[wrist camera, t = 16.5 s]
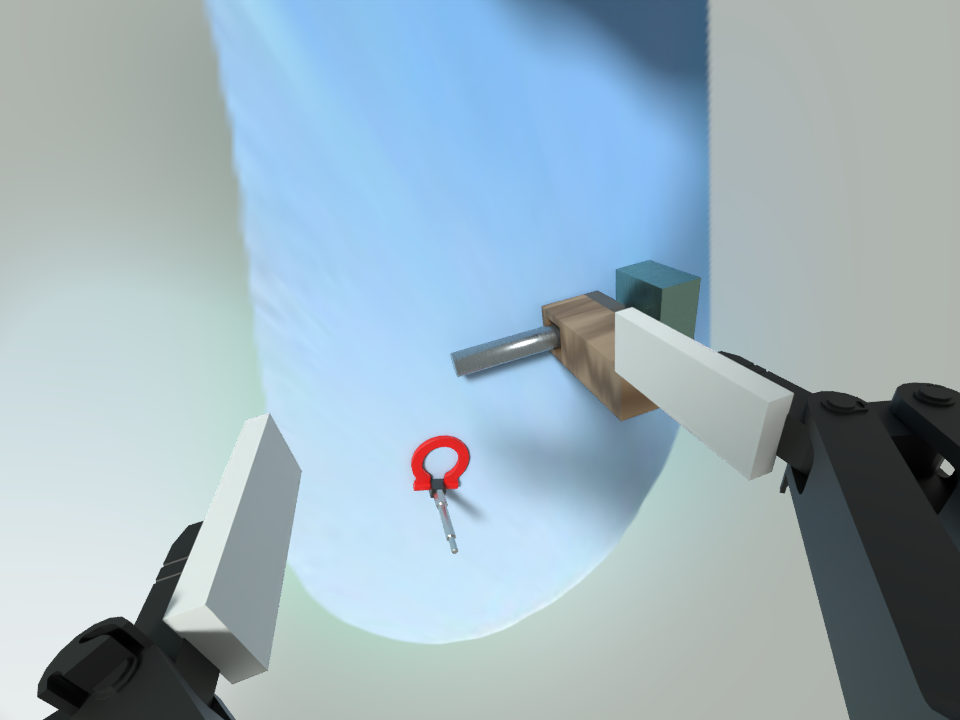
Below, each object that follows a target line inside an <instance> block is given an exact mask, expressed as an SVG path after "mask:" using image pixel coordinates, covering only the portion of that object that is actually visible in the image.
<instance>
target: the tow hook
mask: <svg viewBox="0 0 960 720" xmlns="http://www.w3.org/2000/svg"><path fill="white" fill-rule="evenodd" d="M439 447H450V448H452V449H454V450H455V451H456V452H457V453H458V461H457V463H456V465H455V466H454V468H453V469H451V470H450V471H449V472H447V473H446V474H445V476H444V480H443V479H431V477H430V474H429V473H427V472H426V471H425V470H424V469H423V467H422V463H423V460H424V457H425V456H426V455H427V454H428V453H429V452H430V451H432V450H433V449H435V448H439ZM468 461H469V454H468V450H467V448H466V446H465V444H464V443H463V442H462V441H461V440H459V439H457V438H455V437H452V436H437V437H433V438H431V439H429V440H427V441H425V442H424V443H422V444H421V445H420V446H419V447H418V448H417V449H416V451H415V452H414V454H413V457H412V461H411V467H412V471H413V474H414V476H415V477H416V481H414V484H413V488H414V491H420V490H429V493H430V497H431V498H434V500H435V503H436V507H437V509H438V510H439V513H440V516H441V520H442V524H443V528H444V531H445V535H446V539H447V541H449V543H450V547H451V551H452V553H453V554H456V553H457V552H458V549H457V545H456V542H455V538H456V536H455V533H454V529H453V526H452V523H451V519H450V516H449V512H448V509H447V506H448V504H447V501H446V498H445V493H446V489H457V488H458V477H459V476H460V475H461V474H462V473H463V472H464V471H465V469H466V467H467V465H468Z"/></svg>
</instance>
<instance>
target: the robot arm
mask: <svg viewBox="0 0 960 720" xmlns="http://www.w3.org/2000/svg"><path fill="white" fill-rule="evenodd" d="M615 372H617V373H618V374H619V375H620V376H621V377H623V378H624V379H625V380H626V381H628V382H629V383H630V384H631V385H633V386H634V387H635V388H636V389H637V390H639V391H640V392H641V393H642V394H644V395H645V396H646V397H647V398H649V399H650V400H651V401H652V402H653V403H655V404H656V405H657V406H658V407H660V408H661V409H662V410H663V411H664V412H666V413H667V414H668V415H669V416H671V417H672V418H673V419H674V420H676V421H677V422H678V423H679V424H680V425H682V426H683V427H684V428H685V429H687V430H688V431H689V432H690V433H692V434H693V435H694V436H695V437H697V438H698V439H699V440H700V441H701V442H703V443H704V444H705V445H706V446H708V447H709V448H710V449H711V450H712V451H714V452H715V453H716V454H717V455H719V456H720V457H721V458H722V459H724V460H725V461H726V462H727V463H728V464H730V465H731V466H732V467H733V468H735V469H736V470H737V471H738V472H740V473H741V474H742V475H743V476H744V477H746V478H747V479H748V480H752V479H755V478H757V477H760V476H762V475H765V474H767V473H770V472H772V469H773V466H774V462H775V459H776V455H777V456H778V457H780V458H781V459H783V460H784V461H785V462H787V467H786V470H785V473H784V476H783V480H782V483H781V486H780V493H785V491H786V487H787V486H789V488H790V492H791V496H792V500H793V504H794V507H795V511H796V515H797V519H798V523H799V527H800V530H801V534H802V538H803V541H804V546H805V550H806V554H807V557H808V561H809V565H810V569H811V572H812V577H813V580H814V584H815V588H816V591H817V596H818V600H819V603H820V607H821V611H822V615H823V619H824V622H825V626H826V630H827V634H828V638H829V642H830V646H831V649H832V653H833V657H834V661H835V664H836V669H837V672H838V676H839V680H840V684H841V688H842V691H843V695H844V699H845V703H846V707H847V711H848V714H849V718H850V720H960V393H959V392H957V391H955V390H952V389H949V388H946V387H944V386H940V385H936V384H935V385H934V384H930V383H907V384H902V385H901V386H899V387H897V389H896V391H895V394H894V396H893V398H892V400H891V401H880V402H869V403H868V402H865V401H863V400H862V399H860V398H858V397H855V396H852V395H849V394H846V393H840V392H834V391H821V392H817V393H811V392H809V391H807V390H805V389H803V388H801V387H799V386H797V385H795V384H793V383H791V382H789V381H787V380H785V379H783V378H781V377H779V376H777V375H775V374H773V373H772V372H770V371H768V372H767V371H766V369H764V368H762V367H760V366H758V365H754V364H753V363H752V362H750V361H748V360H746V359H744V358H742V357H740V356H737V355H734V354H730V353H726V352H722V351H720V352H716V351H714V350H712V349H710V348H708V347H706V346H704V345H702V344H701V343H699V342H697V341H695V340H693V339H691V338H689V337H687V336H686V335H684V334H682V333H680V332H678V331H676V330H674V329H672V328H670V327H669V326H667V325H665V324H663V323H661V322H659V321H657V320H655V319H654V318H652V317H650V316H648V315H646V314H644V313H642V312H640V311H639V310H637V309H635V308H633V307H631V308H628V309H624V310H621V311H618V312H615ZM944 459H946V460H947V461H948V462H949V463H950V464H951V465H952V466H953V467H954V469H955V471H954V472H953V474H952V475H951V476H949V475H948V474H946V473H945V472H944V471H943V470H942V469H941V468H940V466H941V464H942V462H943V461H944ZM301 472H302V471H301V469H300V467H299V465H298V463H297V462H296V460H295V458H294V456H293V454H292V453H291V451H290V449H289V447H288V445H287V443H286V442H285V440H284V438H283V436H282V434H281V433H280V431H279V429H278V427H277V425H276V424H275V422H274V420H273V418H272V416H271V415H270V413H268V414H264V415H261V416H257V417H254V418H251V419H247V420H246V421H245V423H244V426H243V428H242V431H241V433H240V435H239V438H238V440H237V443H236V445H235V447H234V450H233V452H232V455H231V457H230V459H229V462H228V464H227V466H226V469H225V471H224V474H223V476H222V478H221V481H220V483H219V486H218V488H217V491H216V493H215V495H214V498H213V500H212V502H211V505H210V507H209V510H208V512H207V514H206V517H205V519H204V521H202V522H198V523H196V524H192V525H189V526H188V527H187V528H186V529H185V531H183V533H182V534H181V535H180V536H179V537H178V539H177V540H176V541H175V542H174V543H173V545H172V546H171V549H170V551H169V553H168V555H167V557H166V559H165V561H164V563H163V565H164V567H162V568H161V570H160V572H159V574H158V576H157V578H156V583H155V584H153V587H152V589H151V591H150V593H149V595H148V597H147V599H146V602H145V603H144V606H143V608H142V610H141V612H140V614H139V616H138V618H137V621H136V622H135V625H133V624H132V623H131V622H130V621H128V620H127V619H125V618H123V617H114V618H108V619H106V620H104V621H101V622H99V623H97V624H94V625H93V626H91V627H90V628H88V629H87V630H85V631H84V632H82V633H81V634H79V635H78V636H76V637H75V638H74V639H73V640H72V641H71V642H70V643H69V644H68V645H67V646H65V647H64V648H63V649H62V650H61V651H60V652H59V653H58V654H57V656H56V657H55V658H54V659H53V661H52V662H51V663H50V664H49V666H48V667H47V668H46V670H45V672H44V674H43V676H42V678H41V680H40V682H39V684H38V692H37V693H38V694H37V697H38V698H40V699H42V700H43V701H45V702H47V703H49V704H50V705H52V706H54V707H56V708H57V709H59V710H58V711H56V712H54V713H53V714H51V715H50V716H48V717H47V718H45V719H43V720H235V718H234V717H233V715H232V714H231V713H230V711H229V710H228V709H227V707H226V706H225V704H224V703H223V702H222V700H221V699H220V698H219V697H218V696H217V695H215V694H214V692H215V689H216V685H217V681H218V677H219V673H221V674H222V675H223V676H224V677H225V678H226V679H227V680H228V681H229V682H231V684H234V683H237V682H240V681H242V680H245V679H247V678H250V677H252V676H255V675H257V674H260V673H263V672H265V671H268V666H269V660H270V654H271V648H272V643H273V637H274V631H275V625H276V619H277V613H278V607H279V601H280V596H281V590H282V584H283V578H284V572H285V566H286V560H287V554H288V549H289V543H290V537H291V531H292V525H293V519H294V513H295V507H296V502H297V496H298V490H299V484H300V478H301Z"/></svg>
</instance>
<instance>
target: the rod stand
mask: <svg viewBox="0 0 960 720" xmlns="http://www.w3.org/2000/svg"><path fill="white" fill-rule="evenodd" d="M700 281H701V278H700V277H697V276H694V275H691V274H688V273H685V272H682V271H679V270H676V269H674V268H671V267H668V266H665V265H662V264H659V263H656V262H653V261H650V260H649V261H645V262H641V263H638V264H634V265H630V266H627V267H623V268H619V269H616V301H618V302H620V303H622V304H623V305H625V309H628V308H631V307H633V308H635V309H637V310H639V311H640V312H642V313H644V314H646V315H648V316H650V317H652V318H654V319H655V320H657V321H659V322H661V323H663V324H665V325H667V326H669V327H670V328H672V329H674V330H676V331H678V332H680V333H682V334H684V335H686V336H687V337H689V338H691V339H693V340H694V332H695V323H696V315H697V306H698V298H699V289H700ZM560 346H561V339H560V328H559V327H558V326H557V325H556V324H555V323H554V324H550V325H547V326H543V327H540V328H537V329H533V330H530V331H526V332H523V333H519V334H516V335H512V336H509V337H505V338H502V339H498V340H495V341H491V342H488V343H485V344H481V345H478V346H474V347H471V348H467V349H464V350H460V351H457V352H453V353H451V359H452V363H453V367H454V370H455V373H456V375H457V377H460V376H464V375H467V374H470V373H474V372H477V371H480V370H484V369H487V368H490V367H494V366H497V365H500V364H504V363H507V362H510V361H514V360H517V359H520V358H524V357H527V356H530V355H534V354H537V353H540V352H544V351H547V350H550V349H554V348H557V347H560Z"/></svg>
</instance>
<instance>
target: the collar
mask: <svg viewBox="0 0 960 720" xmlns="http://www.w3.org/2000/svg"><path fill="white" fill-rule="evenodd" d="M584 295H586V296H587V297H589V298H591V299H592V300H594V301H596V302H598V303H599V304H601V305H603V306H604V307H606V308H608V309H609V310H611V311H613V312H618V311H621V310H624V309H625V305H623V304H622V303H620V302H618V301H616V300H614V299H612V298H610V297H609V296H607V295H605V294H603V293H601V292H599V291H594V292H591V293H587V294H584Z"/></svg>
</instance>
